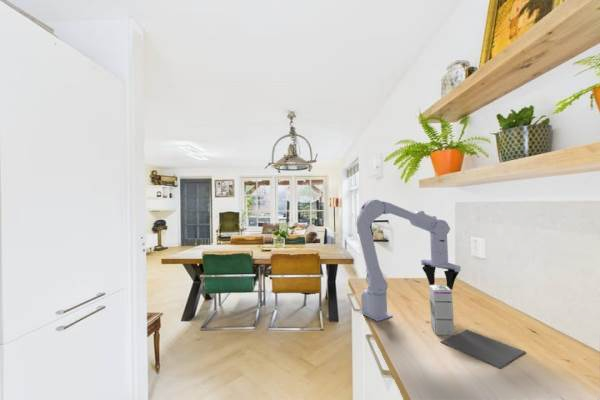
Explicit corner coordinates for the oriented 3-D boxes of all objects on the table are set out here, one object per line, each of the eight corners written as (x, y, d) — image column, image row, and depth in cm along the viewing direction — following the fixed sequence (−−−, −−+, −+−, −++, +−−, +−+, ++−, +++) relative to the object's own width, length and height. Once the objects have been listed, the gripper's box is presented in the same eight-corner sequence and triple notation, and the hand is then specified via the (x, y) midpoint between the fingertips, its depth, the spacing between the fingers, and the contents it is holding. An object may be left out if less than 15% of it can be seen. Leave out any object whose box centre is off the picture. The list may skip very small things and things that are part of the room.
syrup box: (455, 336, 87) (453, 290, 87) (435, 334, 88) (433, 289, 88) (449, 328, 93) (447, 284, 93) (430, 327, 94) (428, 284, 94)
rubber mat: (440, 342, 83) (440, 341, 83) (466, 330, 90) (466, 329, 90) (499, 368, 69) (499, 367, 69) (525, 352, 76) (525, 351, 76)
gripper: (464, 252, 99) (466, 290, 99) (428, 247, 112) (430, 281, 112) (453, 254, 96) (454, 293, 96) (417, 249, 108) (418, 284, 108)
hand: (440, 287), depth 103 cm, fingers open, 7 cm apart
